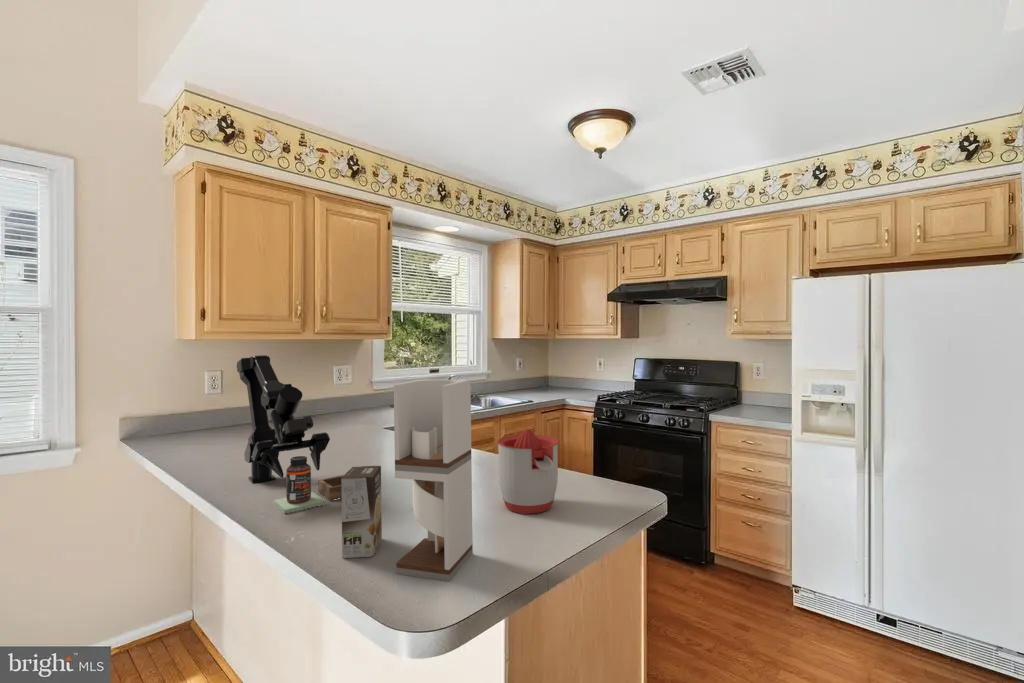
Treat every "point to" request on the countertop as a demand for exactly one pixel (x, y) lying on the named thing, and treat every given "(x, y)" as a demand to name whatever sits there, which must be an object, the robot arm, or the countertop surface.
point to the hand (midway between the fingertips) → (300, 473)
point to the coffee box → (361, 511)
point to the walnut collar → (330, 487)
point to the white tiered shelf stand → (436, 472)
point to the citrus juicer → (528, 471)
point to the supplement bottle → (298, 480)
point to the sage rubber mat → (298, 504)
